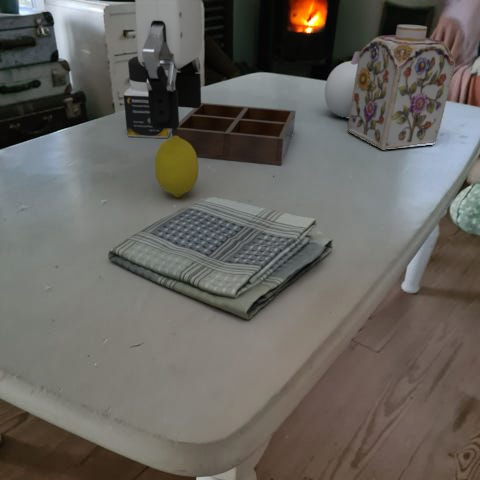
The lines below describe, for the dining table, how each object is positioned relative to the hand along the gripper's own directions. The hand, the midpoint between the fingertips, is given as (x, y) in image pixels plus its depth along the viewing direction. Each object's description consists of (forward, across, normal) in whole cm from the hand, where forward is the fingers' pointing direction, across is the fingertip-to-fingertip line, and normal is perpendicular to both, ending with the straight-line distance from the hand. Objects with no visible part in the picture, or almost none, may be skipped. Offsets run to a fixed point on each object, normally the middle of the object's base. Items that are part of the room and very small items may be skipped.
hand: (177, 116), depth 62 cm
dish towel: (+11, +14, +9) cm, 20 cm away
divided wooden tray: (+10, -25, +2) cm, 27 cm away
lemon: (+10, 0, 0) cm, 11 cm away
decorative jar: (+11, -36, +28) cm, 47 cm away
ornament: (+11, -49, +20) cm, 54 cm away
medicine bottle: (+10, -27, -14) cm, 32 cm away
